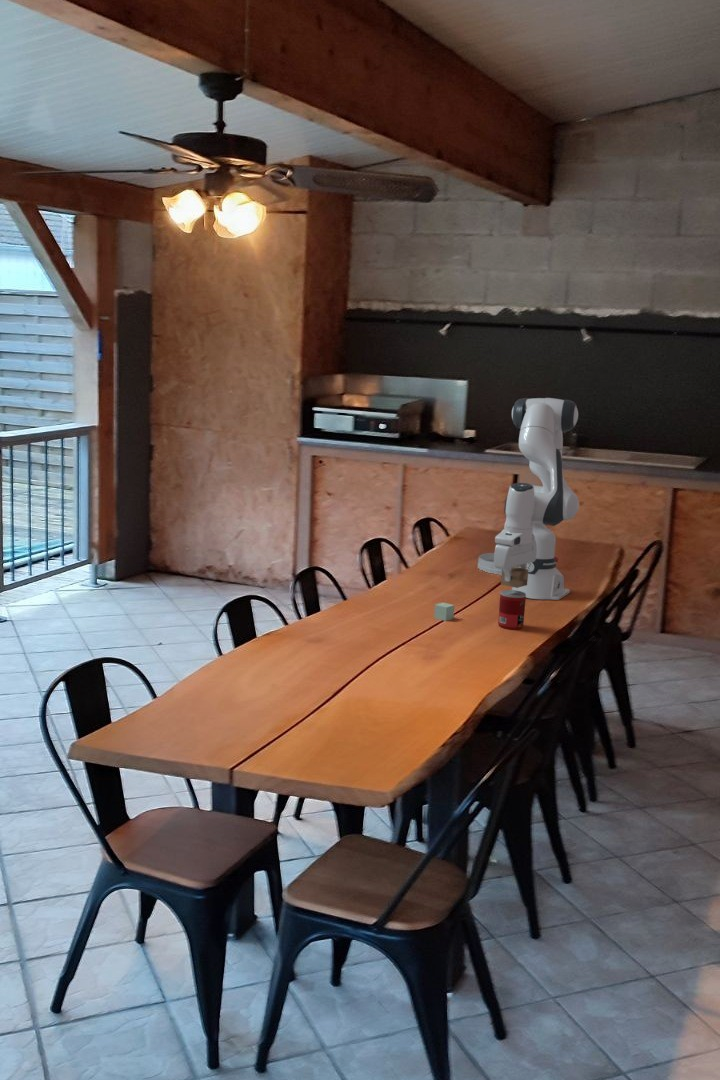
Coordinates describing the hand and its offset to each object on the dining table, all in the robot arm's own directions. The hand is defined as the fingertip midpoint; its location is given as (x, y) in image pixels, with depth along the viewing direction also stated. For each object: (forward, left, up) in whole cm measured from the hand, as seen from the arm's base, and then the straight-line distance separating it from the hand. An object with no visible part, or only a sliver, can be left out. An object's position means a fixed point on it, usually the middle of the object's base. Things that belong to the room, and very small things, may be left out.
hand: (514, 579), depth 333 cm
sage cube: (+8, -20, -16) cm, 27 cm away
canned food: (0, 0, -16) cm, 16 cm away
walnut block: (0, 0, -2) cm, 2 cm away
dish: (-72, -45, -16) cm, 86 cm away
